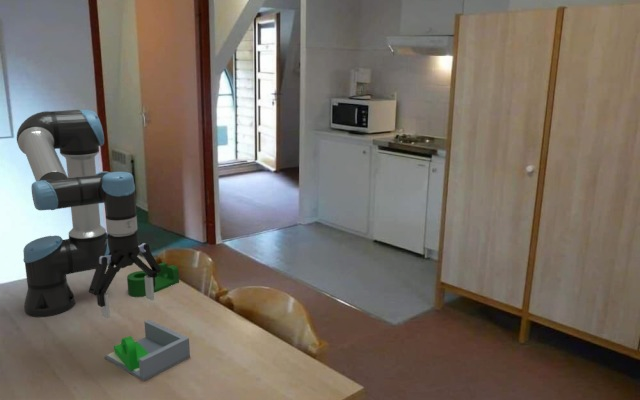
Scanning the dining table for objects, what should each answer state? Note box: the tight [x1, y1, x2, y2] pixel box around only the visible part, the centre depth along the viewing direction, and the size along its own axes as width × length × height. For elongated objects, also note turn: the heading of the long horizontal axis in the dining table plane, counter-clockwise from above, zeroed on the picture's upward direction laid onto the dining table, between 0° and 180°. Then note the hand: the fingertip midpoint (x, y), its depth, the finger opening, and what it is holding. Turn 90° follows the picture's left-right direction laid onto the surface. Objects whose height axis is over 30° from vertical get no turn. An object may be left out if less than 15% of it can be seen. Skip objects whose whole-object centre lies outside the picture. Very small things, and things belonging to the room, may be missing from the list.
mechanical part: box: [113, 335, 149, 371], centre depth 148 cm, size 12×6×8 cm, turn 39°
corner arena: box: [103, 319, 191, 382], centre depth 150 cm, size 18×15×6 cm
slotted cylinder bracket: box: [126, 262, 180, 298], centre depth 197 cm, size 18×9×6 cm, turn 147°
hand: (128, 307), depth 146 cm, fingers open, 13 cm apart
